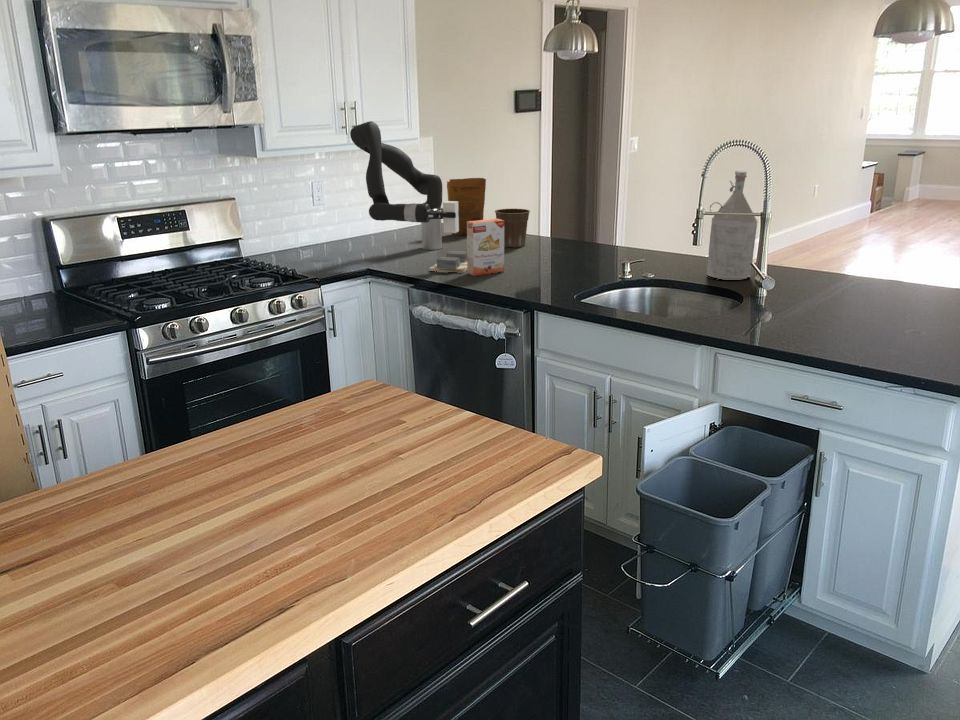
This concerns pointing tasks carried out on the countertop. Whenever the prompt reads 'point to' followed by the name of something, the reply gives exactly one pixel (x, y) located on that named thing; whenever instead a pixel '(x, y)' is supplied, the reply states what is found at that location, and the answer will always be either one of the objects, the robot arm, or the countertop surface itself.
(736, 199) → the grey jug
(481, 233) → the cracker box
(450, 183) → the pancake mix bag
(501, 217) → the plant pot
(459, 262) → the board
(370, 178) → the robot arm
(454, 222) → the white block
